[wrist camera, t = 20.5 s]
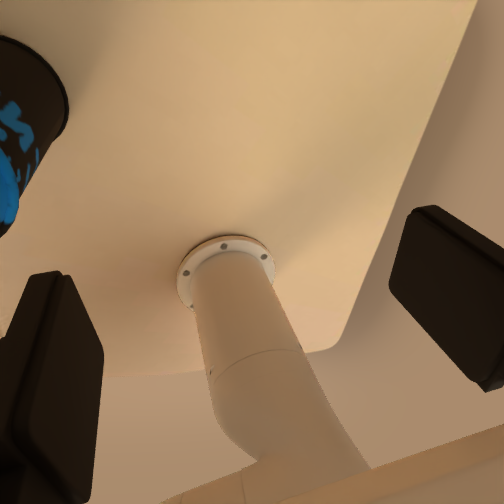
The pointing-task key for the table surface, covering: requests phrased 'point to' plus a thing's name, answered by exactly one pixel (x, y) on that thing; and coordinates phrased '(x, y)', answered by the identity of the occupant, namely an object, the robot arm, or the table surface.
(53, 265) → the table surface
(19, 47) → the aerosol can
